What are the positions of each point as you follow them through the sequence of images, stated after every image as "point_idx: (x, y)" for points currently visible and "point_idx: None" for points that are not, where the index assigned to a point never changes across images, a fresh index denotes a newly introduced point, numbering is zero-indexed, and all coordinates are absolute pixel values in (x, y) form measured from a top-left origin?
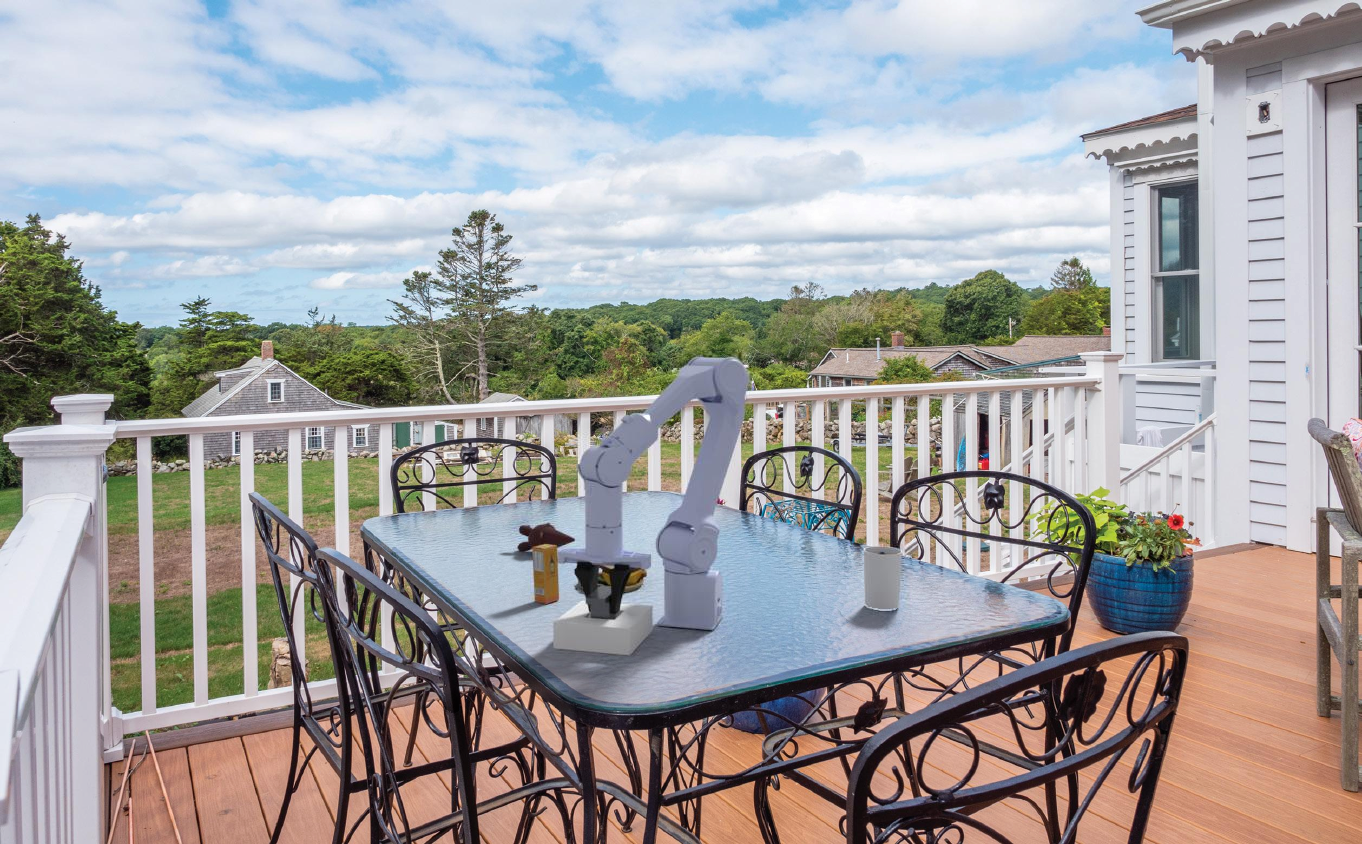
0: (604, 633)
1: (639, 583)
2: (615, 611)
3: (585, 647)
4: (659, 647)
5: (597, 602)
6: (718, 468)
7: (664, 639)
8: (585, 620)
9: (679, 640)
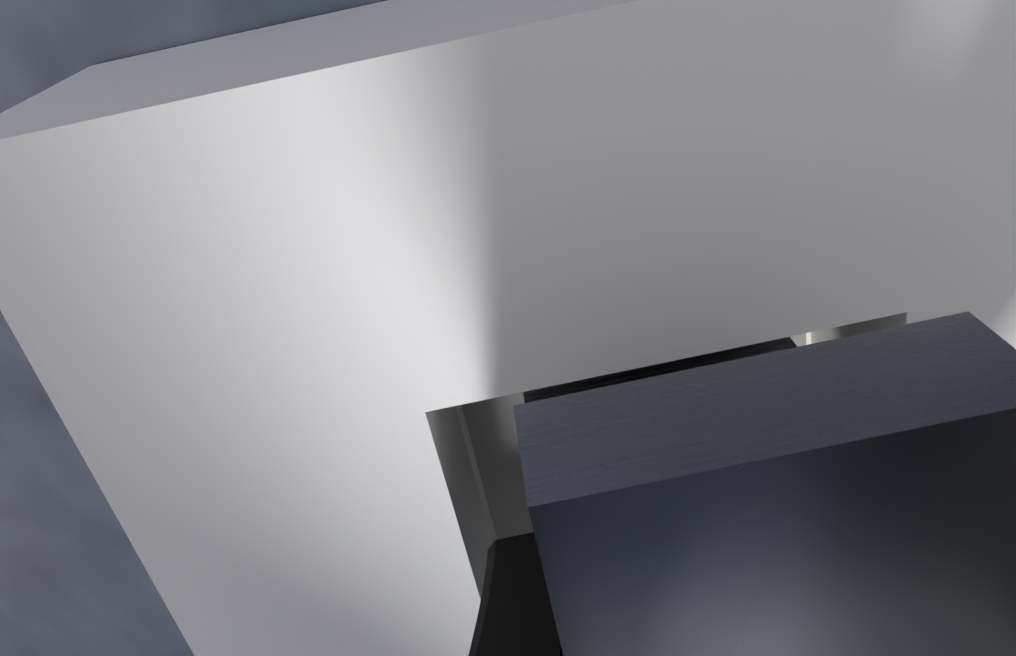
0: (377, 39)
1: None
2: (491, 567)
3: None
4: (16, 409)
5: (699, 402)
6: None
7: (132, 579)
8: (823, 202)
9: (6, 611)
